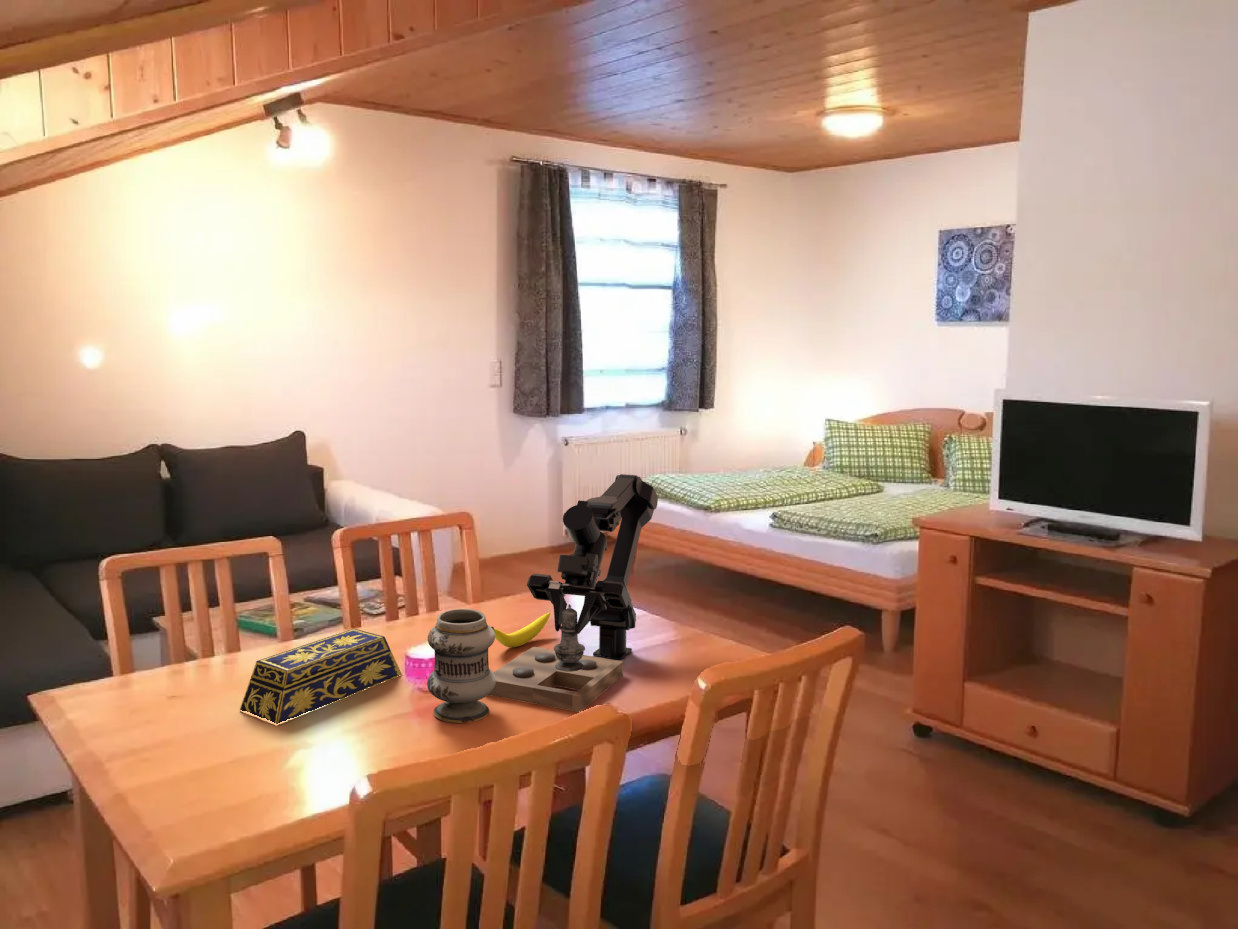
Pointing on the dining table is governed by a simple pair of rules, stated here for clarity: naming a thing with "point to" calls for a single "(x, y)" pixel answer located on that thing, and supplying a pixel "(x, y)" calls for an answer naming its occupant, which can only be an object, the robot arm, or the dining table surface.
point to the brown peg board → (555, 680)
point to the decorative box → (318, 674)
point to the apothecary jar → (461, 665)
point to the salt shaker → (569, 643)
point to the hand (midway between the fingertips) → (566, 631)
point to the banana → (521, 633)
